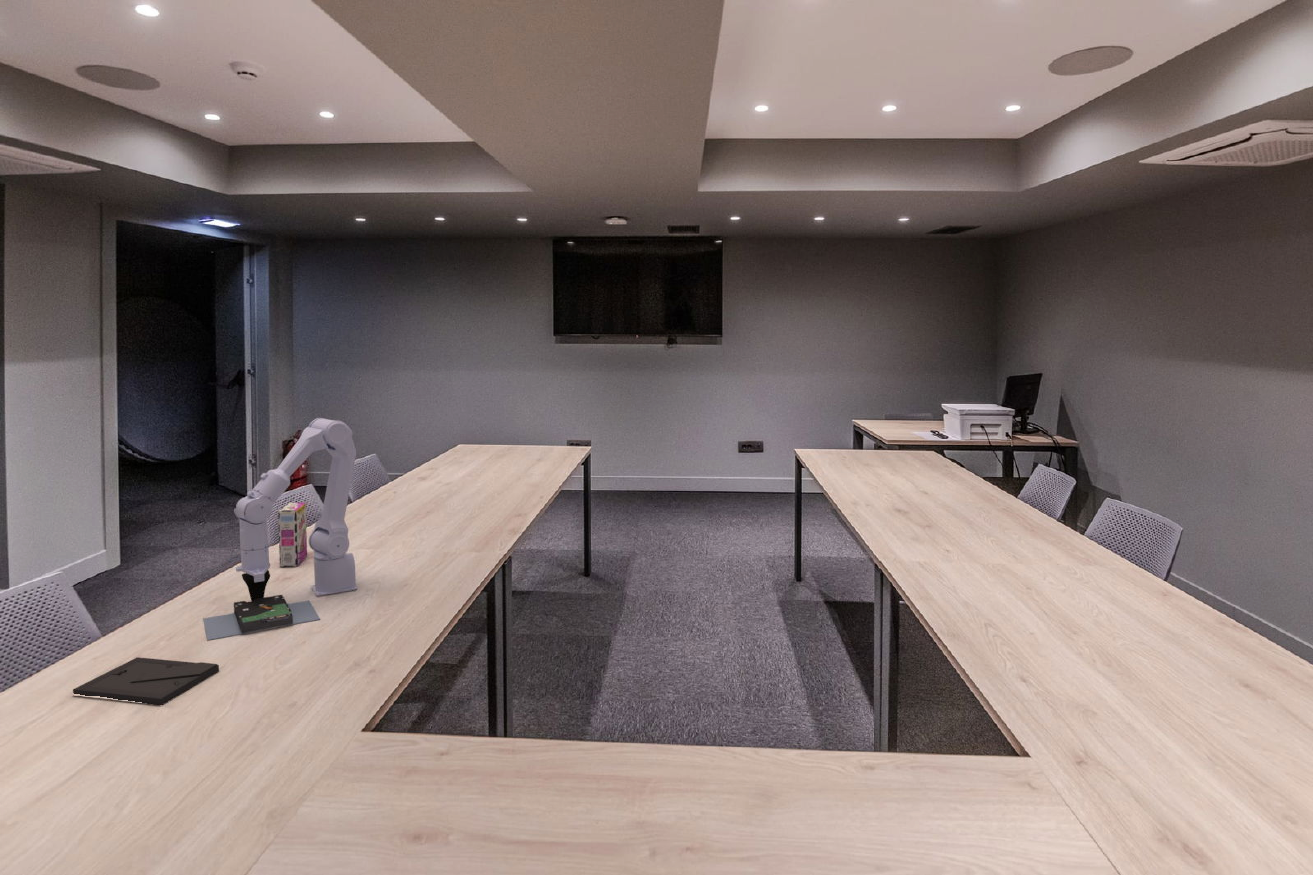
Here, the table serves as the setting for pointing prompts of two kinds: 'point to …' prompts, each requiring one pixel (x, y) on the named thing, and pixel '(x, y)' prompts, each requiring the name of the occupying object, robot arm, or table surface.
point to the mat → (230, 627)
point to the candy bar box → (292, 534)
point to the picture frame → (148, 680)
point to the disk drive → (262, 613)
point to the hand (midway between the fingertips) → (257, 602)
